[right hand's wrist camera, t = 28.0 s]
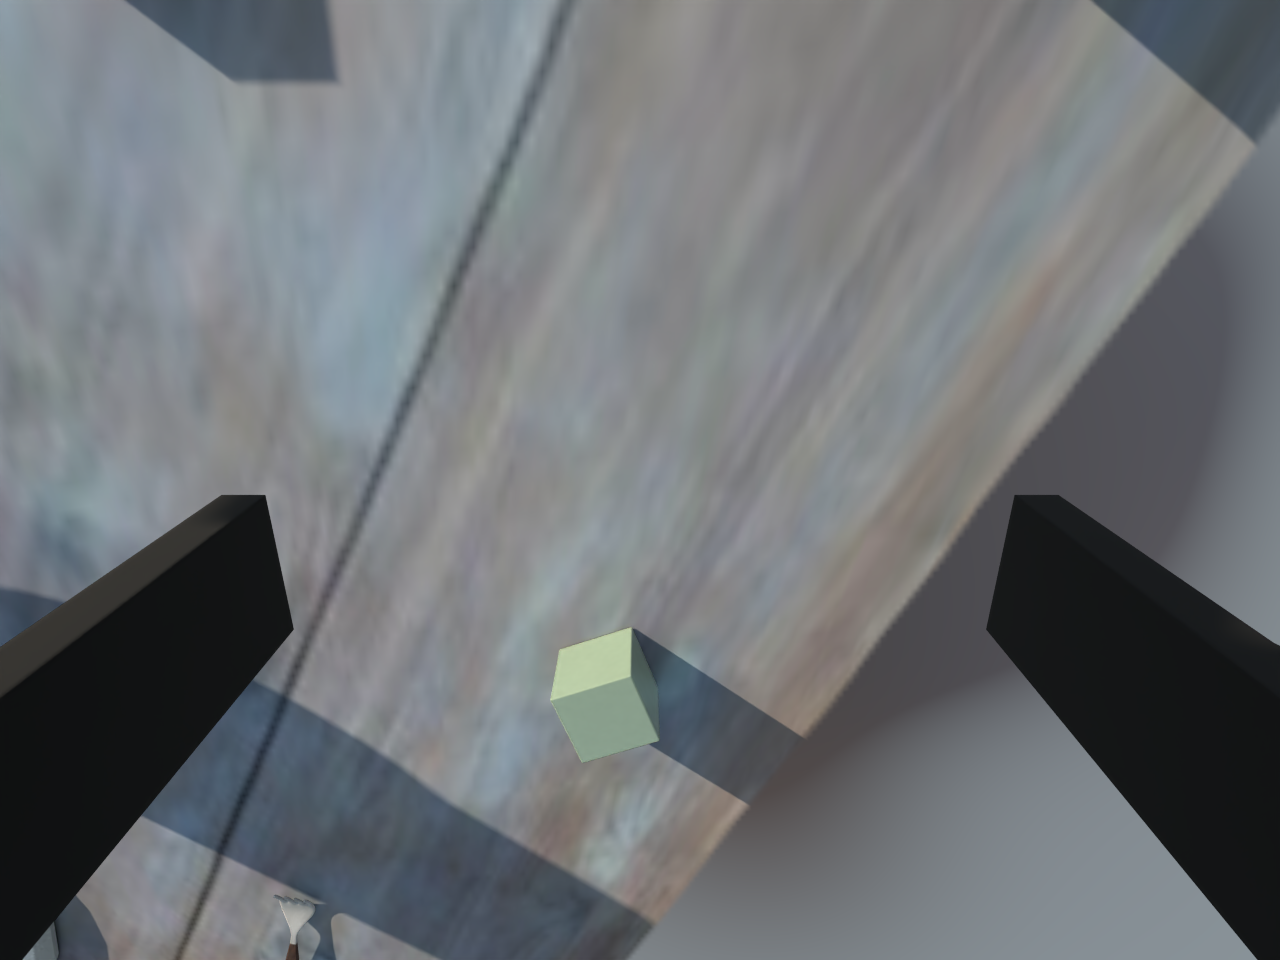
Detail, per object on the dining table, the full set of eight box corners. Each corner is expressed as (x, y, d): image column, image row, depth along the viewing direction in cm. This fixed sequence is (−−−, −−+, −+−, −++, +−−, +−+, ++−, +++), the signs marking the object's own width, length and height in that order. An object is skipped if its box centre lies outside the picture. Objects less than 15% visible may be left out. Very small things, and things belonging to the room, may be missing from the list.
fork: (274, 1008, 57) (262, 1035, 55) (283, 871, 52) (270, 896, 50) (306, 1013, 58) (295, 1040, 56) (319, 877, 52) (307, 902, 50)
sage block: (631, 626, 44) (631, 675, 40) (658, 687, 46) (660, 741, 41) (559, 648, 45) (549, 700, 40) (587, 708, 47) (581, 764, 42)
